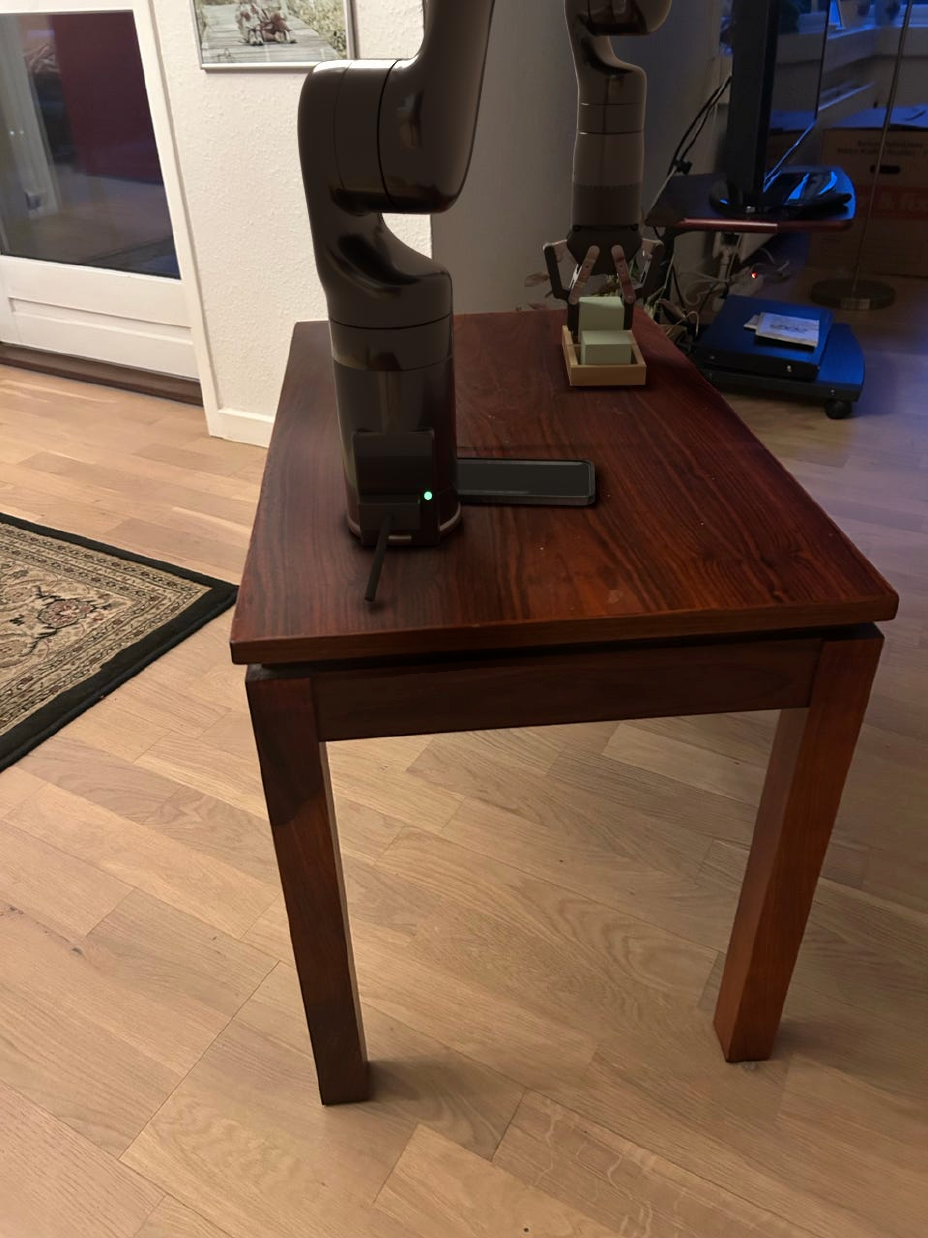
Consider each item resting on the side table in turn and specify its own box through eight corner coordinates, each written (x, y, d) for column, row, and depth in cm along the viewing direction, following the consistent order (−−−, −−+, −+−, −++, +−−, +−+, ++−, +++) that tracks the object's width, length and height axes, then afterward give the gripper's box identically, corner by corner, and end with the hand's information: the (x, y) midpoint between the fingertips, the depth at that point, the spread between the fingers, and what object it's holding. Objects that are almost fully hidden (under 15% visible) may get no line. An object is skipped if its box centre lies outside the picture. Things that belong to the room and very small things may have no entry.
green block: (622, 343, 110) (624, 308, 107) (579, 343, 110) (580, 308, 108) (617, 330, 114) (619, 296, 112) (575, 330, 114) (577, 296, 112)
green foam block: (629, 379, 104) (631, 343, 102) (583, 380, 105) (585, 344, 102) (623, 364, 109) (626, 329, 106) (580, 365, 109) (581, 330, 107)
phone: (432, 456, 88) (594, 459, 87) (432, 467, 89) (593, 470, 87) (420, 493, 82) (595, 497, 80) (420, 505, 82) (594, 509, 81)
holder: (644, 389, 103) (646, 366, 102) (570, 390, 104) (571, 367, 102) (627, 345, 116) (629, 324, 115) (561, 346, 117) (562, 325, 115)
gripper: (542, 183, 99) (539, 344, 109) (680, 180, 99) (664, 342, 108) (539, 172, 105) (536, 325, 115) (668, 169, 105) (655, 323, 114)
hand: (598, 333), depth 112 cm, fingers closed on green block, 5 cm apart
